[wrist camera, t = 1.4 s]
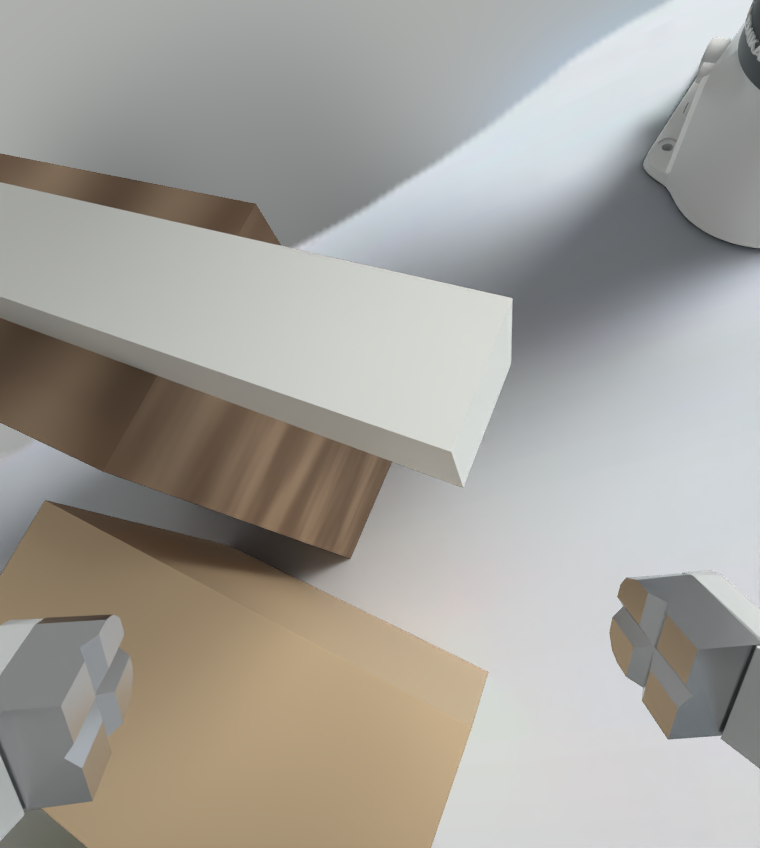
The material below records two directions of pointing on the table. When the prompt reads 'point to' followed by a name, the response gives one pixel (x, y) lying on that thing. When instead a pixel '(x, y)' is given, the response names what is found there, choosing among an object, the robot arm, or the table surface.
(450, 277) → the table surface
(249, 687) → the carton
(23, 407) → the pedestal
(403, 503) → the table surface
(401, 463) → the bar
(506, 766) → the table surface
